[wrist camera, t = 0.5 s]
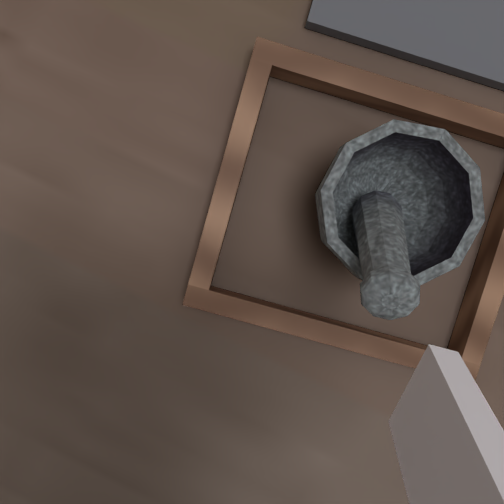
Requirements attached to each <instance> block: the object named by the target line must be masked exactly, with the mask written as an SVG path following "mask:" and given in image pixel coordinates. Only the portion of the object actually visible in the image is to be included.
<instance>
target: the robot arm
mask: <svg viewBox="0 0 504 504" xmlns="http://www.w3.org/2000/svg"><path fill="white" fill-rule="evenodd" d="M389 425H390V429H391V433H392V437H393V441H394V445H395V449H396V453H397V457H398V461H399V465H400V469H401V473H402V477H403V481H404V485H405V489H406V493H407V497H408V501H409V504H504V431H503V429H502V427H501V425H500V424H499V422H498V420H497V418H496V417H495V415H494V413H493V411H492V410H491V408H490V406H489V404H488V403H487V401H486V399H485V398H484V396H483V394H482V392H481V391H480V389H479V387H478V385H477V384H476V382H475V380H474V378H473V377H472V375H471V373H470V371H469V370H468V368H467V366H466V364H465V363H464V361H463V359H462V358H461V356H460V354H459V352H457V351H453V350H449V349H445V348H441V347H438V346H434V345H430V344H428V346H427V348H426V350H425V352H424V354H423V356H422V358H421V360H420V362H419V364H418V366H417V367H416V369H415V371H414V373H413V375H412V377H411V379H410V381H409V383H408V385H407V387H406V389H405V390H404V392H403V394H402V396H401V398H400V400H399V402H398V404H397V406H396V408H395V410H394V412H393V413H392V415H391V417H390V419H389Z"/></svg>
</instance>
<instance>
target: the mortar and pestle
mask: <svg viewBox="0 0 504 504" xmlns="http://www.w3.org/2000/svg"><path fill="white" fill-rule="evenodd" d="M315 198H316V206H317V214H318V222H319V230H320V237H321V240H322V242H323V243H324V244H325V245H326V246H327V247H328V248H329V249H330V250H331V251H332V253H333V254H334V255H335V256H336V257H337V258H338V259H339V260H340V261H341V262H342V263H343V264H344V265H345V266H346V267H347V268H348V269H349V270H350V271H351V273H352V274H353V275H354V276H355V277H357V278H359V279H361V280H363V281H362V282H361V283H360V293H361V304H362V305H363V306H364V307H365V308H366V309H367V310H368V311H369V312H370V313H371V314H372V315H373V316H375V317H379V318H383V319H388V320H393V319H397V318H401V317H405V316H408V315H409V314H410V313H411V312H412V311H413V310H414V309H415V308H416V307H417V306H418V305H419V303H420V285H422V284H424V283H426V282H428V281H430V280H432V279H434V278H436V277H438V276H440V275H442V274H444V273H446V272H448V271H450V270H452V269H454V268H456V267H459V266H460V264H461V262H462V260H463V259H464V257H465V255H466V253H467V252H468V250H469V248H470V246H471V244H472V243H473V241H474V239H475V237H476V235H477V234H478V232H479V230H480V228H481V226H482V225H483V223H484V221H485V215H484V205H483V195H482V184H481V174H480V168H479V166H478V165H477V164H476V163H475V162H474V161H473V160H472V159H471V158H470V156H469V155H468V154H467V153H466V152H465V151H464V150H463V149H462V147H461V146H460V145H459V144H458V143H457V142H456V141H455V140H454V138H453V137H452V136H451V135H450V134H449V133H448V132H447V131H446V129H441V128H436V127H431V126H426V125H420V124H415V123H410V122H405V121H400V120H392V121H390V122H388V123H386V124H384V125H382V126H380V127H378V128H375V129H373V130H371V131H369V132H367V133H365V134H363V135H361V136H359V137H357V138H355V139H353V140H351V141H349V142H347V143H345V144H344V145H343V146H341V147H340V149H339V150H338V152H337V154H336V156H335V158H334V160H333V162H332V163H331V165H330V167H329V169H328V171H327V173H326V175H325V177H324V178H323V180H322V182H321V184H320V186H319V188H318V190H317V192H316V194H315Z"/></svg>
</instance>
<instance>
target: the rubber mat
mask: <svg viewBox="0 0 504 504" xmlns="http://www.w3.org/2000/svg"><path fill="white" fill-rule="evenodd" d="M305 28H306V29H310V30H313V31H316V32H319V33H322V34H325V35H329V36H332V37H335V38H338V39H341V40H344V41H347V42H351V43H354V44H357V45H360V46H363V47H366V48H370V49H373V50H376V51H379V52H382V53H385V54H389V55H392V56H395V57H398V58H401V59H404V60H407V61H411V62H414V63H417V64H420V65H423V66H426V67H430V68H433V69H436V70H439V71H442V72H445V73H448V74H452V75H455V76H458V77H461V78H464V79H467V80H471V81H474V82H477V83H480V84H483V85H486V86H489V87H493V88H496V89H499V90H502V91H504V0H313V1H312V5H311V8H310V12H309V15H308V19H307V22H306V26H305Z"/></svg>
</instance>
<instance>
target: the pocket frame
mask: <svg viewBox="0 0 504 504" xmlns="http://www.w3.org/2000/svg"><path fill="white" fill-rule="evenodd" d="M270 76H271V77H274V78H277V79H280V80H284V81H287V82H290V83H293V84H297V85H300V86H303V87H306V88H310V89H313V90H316V91H319V92H322V93H326V94H329V95H332V96H335V97H339V98H342V99H345V100H348V101H352V102H355V103H358V104H361V105H365V106H368V107H371V108H374V109H378V110H381V111H384V112H387V113H391V114H394V115H397V116H400V117H403V118H407V119H410V120H413V121H416V122H420V123H423V124H426V125H429V126H433V127H436V128H441V129H446V131H449V132H452V133H455V134H459V135H462V136H465V137H468V138H472V139H475V140H478V141H481V142H485V143H488V144H491V145H494V146H497V147H501V148H504V114H502V113H499V112H496V111H493V110H490V109H486V108H483V107H480V106H477V105H474V104H470V103H467V102H464V101H461V100H458V99H454V98H451V97H448V96H445V95H442V94H439V93H435V92H432V91H429V90H426V89H423V88H419V87H416V86H413V85H410V84H407V83H403V82H400V81H397V80H394V79H391V78H388V77H384V76H381V75H378V74H375V73H372V72H368V71H365V70H362V69H359V68H356V67H352V66H349V65H346V64H343V63H340V62H337V61H333V60H330V59H327V58H324V57H321V56H317V55H314V54H311V53H308V52H305V51H301V50H298V49H295V48H292V47H289V46H285V45H282V44H279V43H276V42H273V41H270V40H266V39H263V38H260V37H257V38H256V42H255V45H254V49H253V52H252V56H251V60H250V63H249V67H248V70H247V74H246V78H245V81H244V85H243V88H242V92H241V96H240V99H239V103H238V106H237V110H236V114H235V117H234V121H233V124H232V128H231V132H230V135H229V139H228V142H227V146H226V150H225V153H224V157H223V160H222V164H221V168H220V171H219V175H218V178H217V182H216V186H215V189H214V193H213V196H212V200H211V203H210V207H209V211H208V214H207V218H206V221H205V225H204V229H203V232H202V236H201V239H200V243H199V247H198V250H197V254H196V257H195V261H194V265H193V268H192V272H191V275H190V279H189V283H188V286H187V290H186V293H185V297H184V301H183V304H182V305H185V306H189V307H192V308H196V309H199V310H203V311H207V312H210V313H214V314H218V315H221V316H225V317H229V318H232V319H236V320H240V321H243V322H247V323H251V324H254V325H258V326H262V327H265V328H269V329H273V330H276V331H280V332H284V333H287V334H291V335H295V336H298V337H302V338H306V339H309V340H313V341H317V342H320V343H324V344H328V345H331V346H335V347H339V348H342V349H346V350H350V351H353V352H357V353H361V354H364V355H368V356H372V357H375V358H379V359H382V360H386V361H390V362H393V363H397V364H401V365H404V366H408V367H412V368H415V369H416V367H417V366H418V364H419V362H420V360H421V358H422V356H423V354H424V352H425V350H426V348H427V345H423V344H419V343H416V342H412V341H409V340H405V339H401V338H398V337H394V336H391V335H387V334H383V333H380V332H376V331H372V330H369V329H365V328H362V327H358V326H354V325H351V324H347V323H344V322H340V321H336V320H333V319H329V318H326V317H322V316H318V315H315V314H311V313H307V312H304V311H300V310H297V309H293V308H289V307H286V306H282V305H279V304H275V303H271V302H268V301H264V300H261V299H257V298H253V297H250V296H246V295H242V294H239V293H235V292H232V291H228V290H224V289H221V288H217V287H214V286H211V283H212V279H213V276H214V272H215V269H216V265H217V262H218V258H219V254H220V251H221V247H222V244H223V240H224V237H225V233H226V230H227V226H228V223H229V219H230V215H231V212H232V208H233V205H234V201H235V198H236V194H237V191H238V187H239V183H240V180H241V176H242V173H243V169H244V166H245V162H246V159H247V155H248V151H249V148H250V144H251V141H252V137H253V134H254V130H255V127H256V123H257V120H258V116H259V112H260V109H261V105H262V102H263V98H264V95H265V91H266V88H267V84H268V81H269V77H270ZM503 294H504V174H503V177H502V180H501V183H500V186H499V190H498V193H497V196H496V199H495V202H494V205H493V208H492V211H491V214H490V218H489V221H488V224H487V227H486V230H485V233H484V236H483V239H482V242H481V246H480V249H479V252H478V255H477V258H476V261H475V264H474V267H473V270H472V274H471V277H470V280H469V283H468V286H467V289H466V292H465V295H464V299H463V302H462V305H461V308H460V311H459V314H458V317H457V320H456V323H455V327H454V330H453V333H452V336H451V339H450V342H449V345H448V348H447V349H449V350H453V351H457V352H459V354H460V356H461V358H462V359H463V361H464V363H465V364H466V366H467V368H468V370H469V371H470V373H471V375H472V377H473V378H474V380H476V377H477V374H478V371H479V368H480V365H481V362H482V359H483V356H484V352H485V349H486V346H487V343H488V340H489V337H490V334H491V331H492V328H493V325H494V322H495V319H496V316H497V313H498V310H499V307H500V304H501V301H502V297H503Z"/></svg>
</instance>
